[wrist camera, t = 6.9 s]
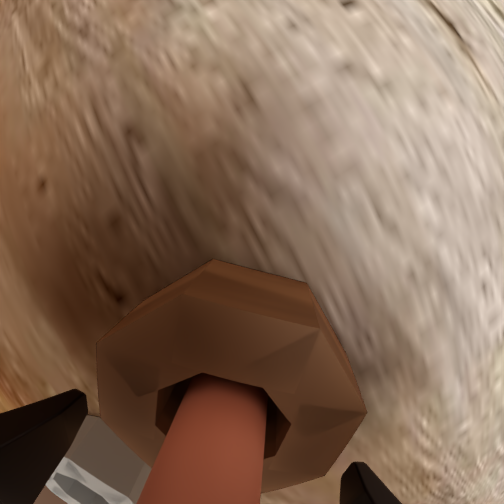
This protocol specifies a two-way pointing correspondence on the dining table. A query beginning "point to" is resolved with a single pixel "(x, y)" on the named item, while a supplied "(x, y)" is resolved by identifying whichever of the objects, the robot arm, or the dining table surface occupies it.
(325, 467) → the walnut bead
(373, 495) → the robot arm
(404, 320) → the dining table surface
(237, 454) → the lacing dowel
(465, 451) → the dining table surface
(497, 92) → the dining table surface
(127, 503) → the slate bead
